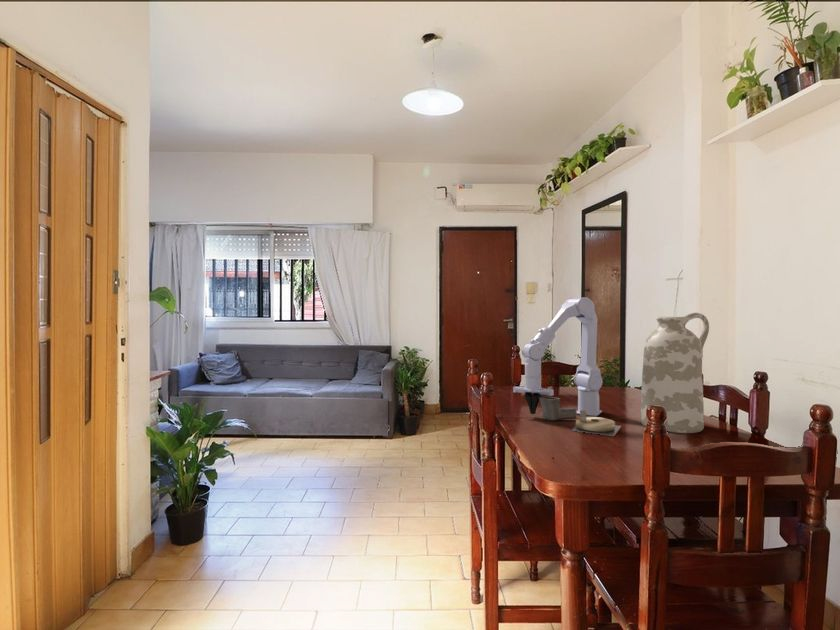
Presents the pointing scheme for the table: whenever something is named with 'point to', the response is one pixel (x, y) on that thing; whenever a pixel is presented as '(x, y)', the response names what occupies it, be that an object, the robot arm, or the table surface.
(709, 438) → the table surface
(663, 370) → the vase
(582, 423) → the beige low round piece
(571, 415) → the pipe
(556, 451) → the table surface
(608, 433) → the base plate
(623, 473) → the table surface
